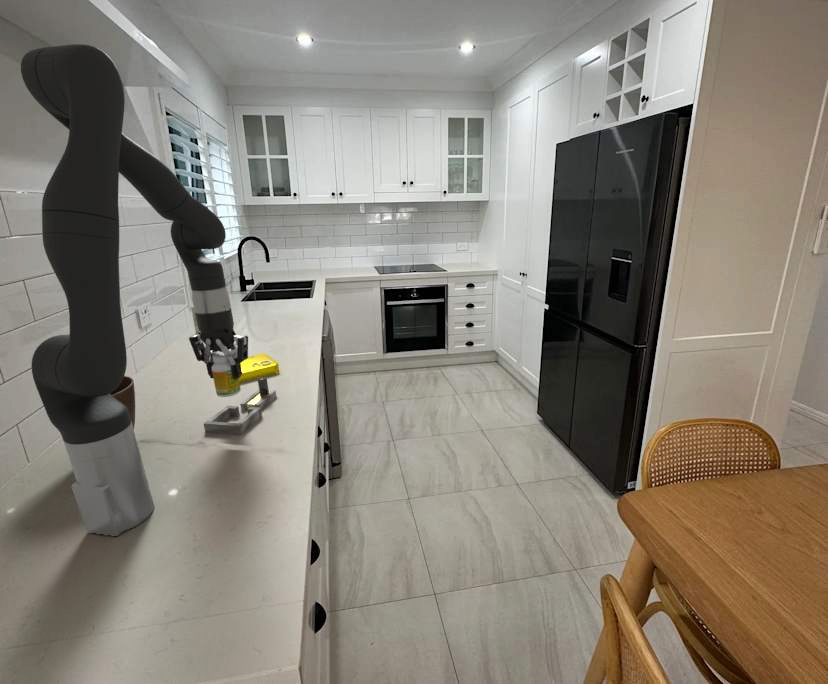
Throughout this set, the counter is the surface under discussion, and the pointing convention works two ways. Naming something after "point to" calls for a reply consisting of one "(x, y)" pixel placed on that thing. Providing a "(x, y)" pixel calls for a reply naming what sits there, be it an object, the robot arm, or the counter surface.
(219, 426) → the docking base
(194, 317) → the skincare box
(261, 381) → the locking bolt
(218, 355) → the supplement bottle
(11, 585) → the counter surface
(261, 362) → the element tile
